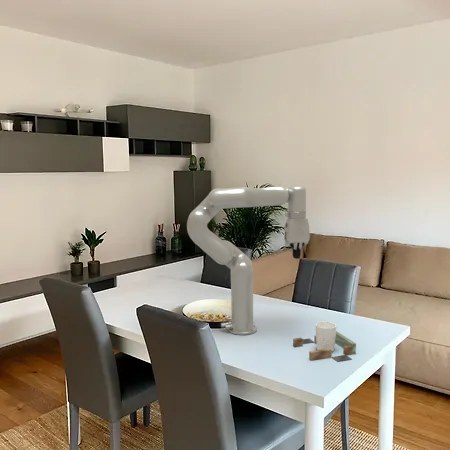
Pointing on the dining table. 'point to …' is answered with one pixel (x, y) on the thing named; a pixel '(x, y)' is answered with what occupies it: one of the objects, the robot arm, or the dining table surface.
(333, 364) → the dining table surface
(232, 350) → the dining table surface
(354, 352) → the brown and green pieces
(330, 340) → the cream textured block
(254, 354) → the dining table surface
